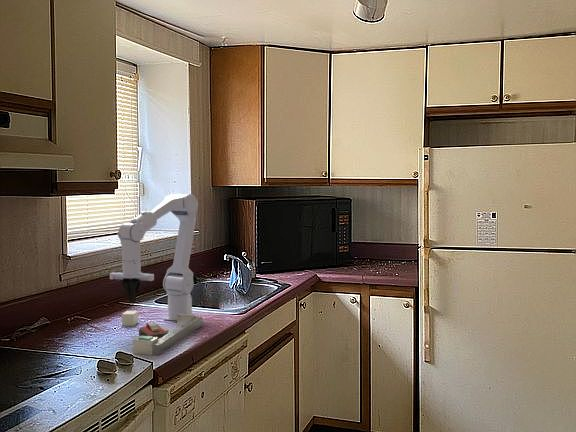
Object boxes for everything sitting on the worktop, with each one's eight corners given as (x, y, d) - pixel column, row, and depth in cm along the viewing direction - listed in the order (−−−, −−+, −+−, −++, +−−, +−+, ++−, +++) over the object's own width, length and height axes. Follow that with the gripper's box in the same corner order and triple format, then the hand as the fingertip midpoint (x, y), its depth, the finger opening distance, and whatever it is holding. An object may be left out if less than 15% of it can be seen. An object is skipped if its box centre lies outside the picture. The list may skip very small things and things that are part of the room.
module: (126, 322, 211) (126, 310, 211) (138, 322, 211) (138, 310, 210) (122, 325, 206) (121, 314, 206) (133, 326, 206) (133, 314, 205)
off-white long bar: (179, 324, 208) (179, 311, 208) (201, 325, 207) (201, 312, 206) (132, 353, 174) (132, 338, 174) (159, 355, 173) (158, 340, 172)
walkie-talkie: (178, 342, 187) (157, 327, 205) (177, 328, 187) (157, 314, 204) (150, 346, 183) (131, 331, 200) (149, 331, 183) (131, 317, 200)
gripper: (104, 261, 194) (105, 303, 195) (147, 262, 191) (147, 305, 192) (115, 258, 201) (116, 298, 202) (156, 259, 198) (157, 301, 199)
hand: (132, 301), depth 197 cm, fingers closed
